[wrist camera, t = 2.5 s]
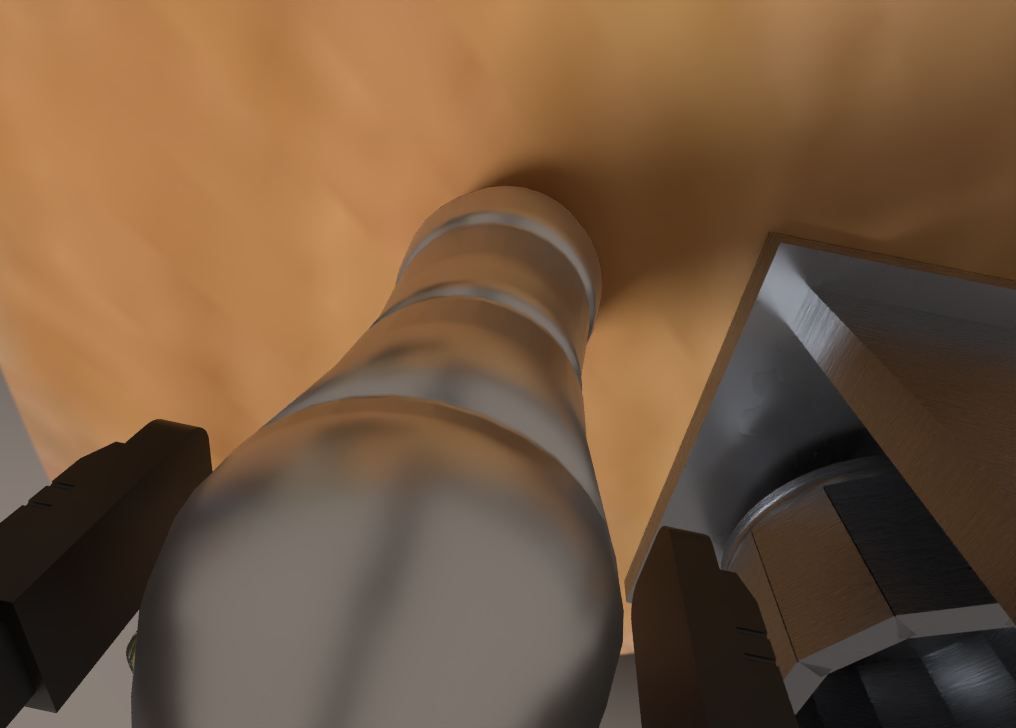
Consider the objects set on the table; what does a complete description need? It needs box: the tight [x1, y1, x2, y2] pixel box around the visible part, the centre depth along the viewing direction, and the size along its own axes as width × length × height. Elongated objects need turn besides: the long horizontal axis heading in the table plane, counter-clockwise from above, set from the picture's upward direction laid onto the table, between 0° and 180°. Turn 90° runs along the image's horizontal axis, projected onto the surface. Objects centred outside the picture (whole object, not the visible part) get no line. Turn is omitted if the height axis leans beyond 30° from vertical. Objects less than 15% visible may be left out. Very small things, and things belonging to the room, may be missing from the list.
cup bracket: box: [624, 232, 1016, 728], centre depth 17 cm, size 18×15×14 cm
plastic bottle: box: [131, 186, 624, 728], centre depth 12 cm, size 6×7×20 cm
